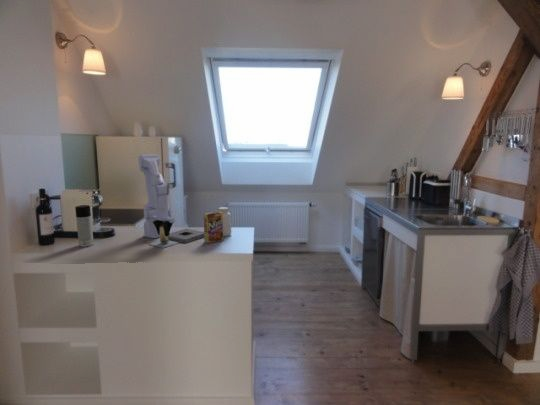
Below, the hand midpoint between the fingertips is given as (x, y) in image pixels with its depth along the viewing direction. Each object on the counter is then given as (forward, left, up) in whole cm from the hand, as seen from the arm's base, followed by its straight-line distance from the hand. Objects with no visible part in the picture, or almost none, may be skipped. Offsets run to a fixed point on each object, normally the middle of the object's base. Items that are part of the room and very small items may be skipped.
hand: (163, 235), depth 190 cm
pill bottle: (+14, +30, -5) cm, 33 cm away
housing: (0, +15, -5) cm, 16 cm away
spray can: (-32, -22, -5) cm, 39 cm away
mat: (0, 0, -5) cm, 5 cm away
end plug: (0, 0, -3) cm, 3 cm away
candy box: (+18, +17, -5) cm, 25 cm away
